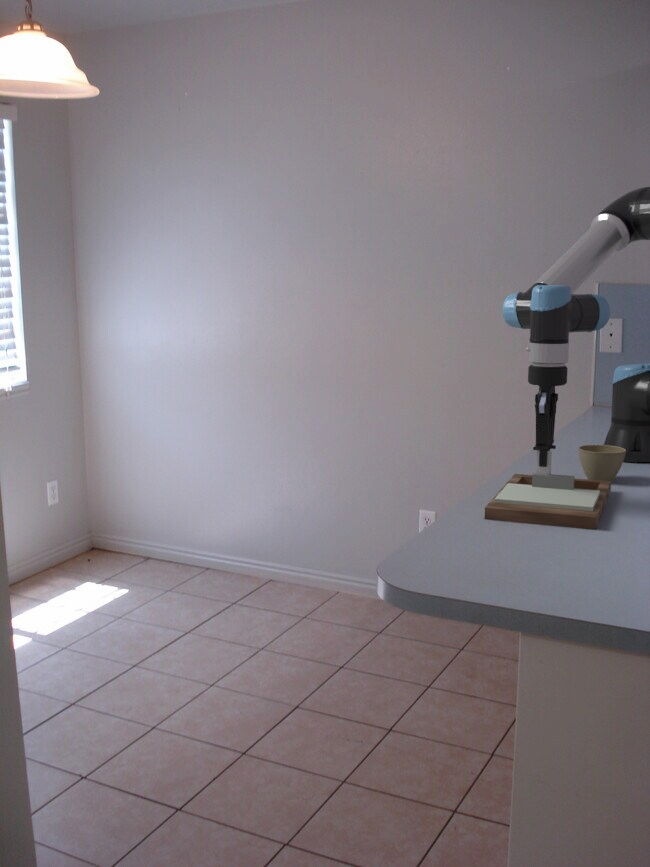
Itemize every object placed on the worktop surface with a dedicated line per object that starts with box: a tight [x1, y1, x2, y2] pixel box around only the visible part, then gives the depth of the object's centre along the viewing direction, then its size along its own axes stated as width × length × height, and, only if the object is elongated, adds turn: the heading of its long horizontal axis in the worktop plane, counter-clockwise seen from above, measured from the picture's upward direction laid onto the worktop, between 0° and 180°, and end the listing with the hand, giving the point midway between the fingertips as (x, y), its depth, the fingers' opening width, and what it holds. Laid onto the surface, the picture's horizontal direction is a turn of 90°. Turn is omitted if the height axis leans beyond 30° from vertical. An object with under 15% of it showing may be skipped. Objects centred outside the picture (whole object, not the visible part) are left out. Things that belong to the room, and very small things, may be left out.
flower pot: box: [578, 444, 626, 483], centre depth 208 cm, size 10×10×7 cm
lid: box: [494, 472, 600, 511], centre depth 182 cm, size 14×18×3 cm
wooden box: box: [484, 473, 612, 530], centre depth 187 cm, size 31×20×2 cm, turn 159°
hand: (543, 481), depth 190 cm, fingers closed
